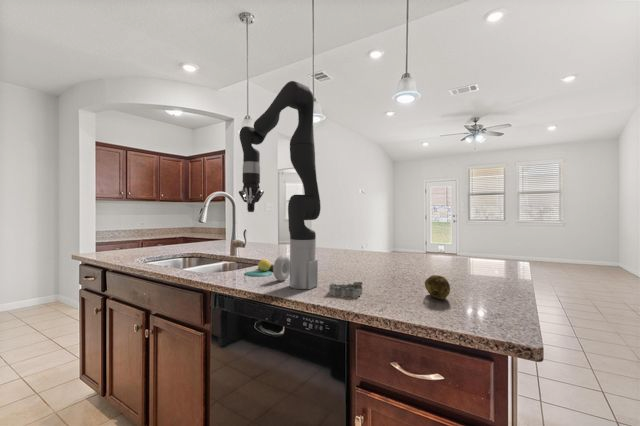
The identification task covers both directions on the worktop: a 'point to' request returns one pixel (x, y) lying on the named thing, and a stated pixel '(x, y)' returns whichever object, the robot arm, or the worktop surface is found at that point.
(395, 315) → the worktop surface
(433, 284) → the dark green oval lump
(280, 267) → the donut
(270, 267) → the stopper strip
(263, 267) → the ball
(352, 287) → the egg carton
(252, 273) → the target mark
